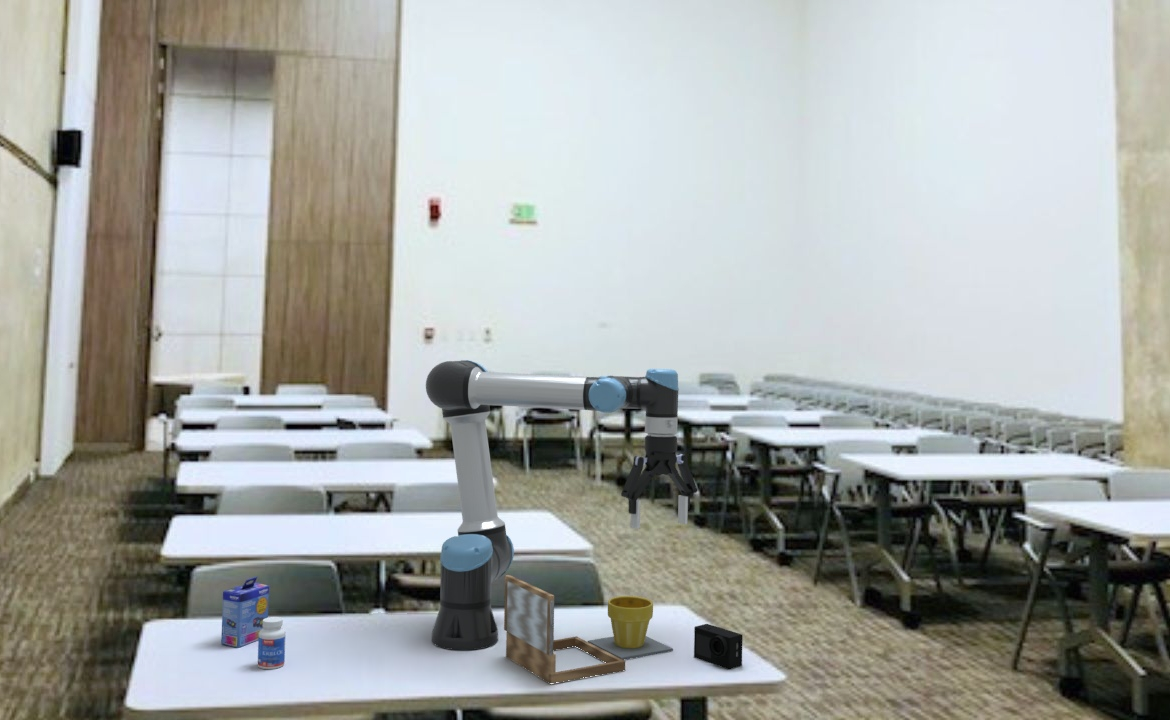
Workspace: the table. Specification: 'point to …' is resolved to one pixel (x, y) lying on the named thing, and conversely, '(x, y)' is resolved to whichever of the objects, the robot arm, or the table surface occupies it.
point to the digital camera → (718, 646)
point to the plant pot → (630, 620)
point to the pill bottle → (271, 644)
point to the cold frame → (544, 635)
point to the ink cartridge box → (244, 613)
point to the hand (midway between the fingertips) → (659, 525)
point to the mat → (626, 653)
